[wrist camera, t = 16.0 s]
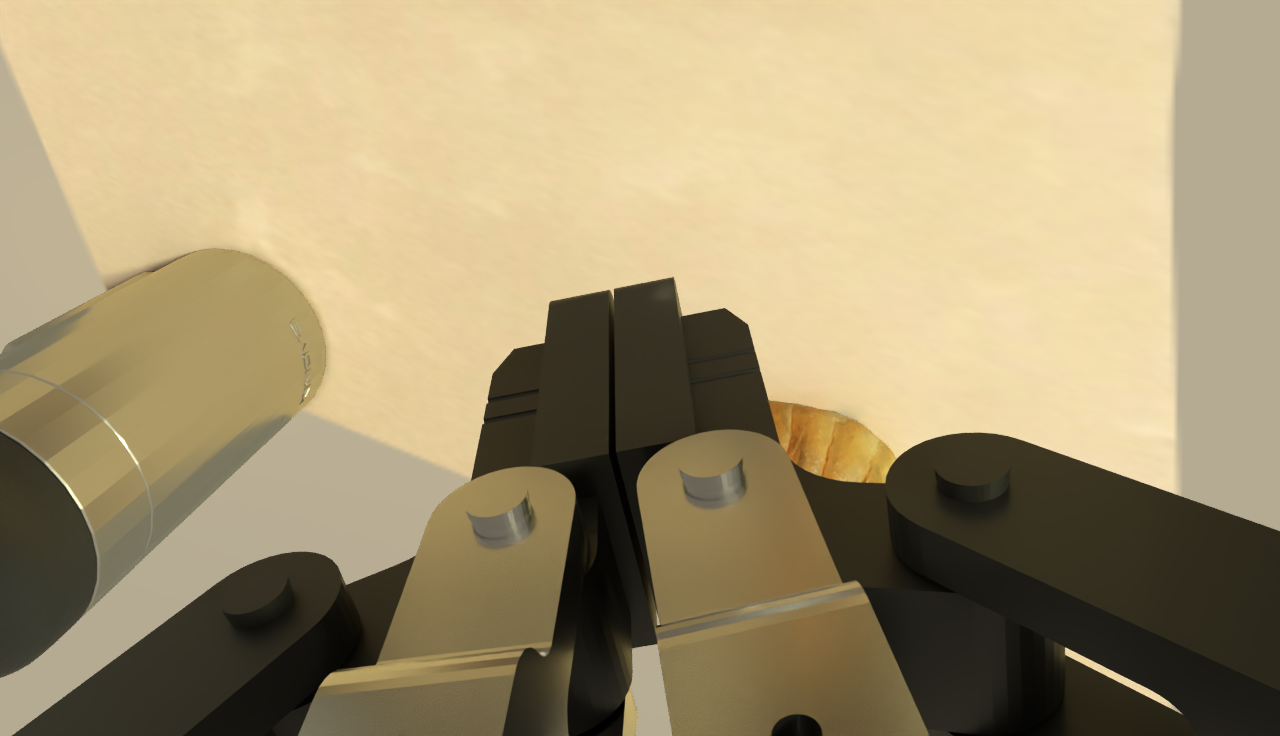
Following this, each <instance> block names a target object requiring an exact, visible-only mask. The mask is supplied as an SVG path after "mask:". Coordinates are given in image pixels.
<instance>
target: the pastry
mask: <svg viewBox="0 0 1280 736" xmlns="http://www.w3.org/2000/svg"><path fill="white" fill-rule="evenodd" d="M768 401H769V400H768ZM769 405H770V408H771V412H772V416H773V419H774V423H775V427H776V431H777V434H778V438H779V442H780V445H781V446H782V447H783V448H784V449H785V451H786V452H787V454H788V456H789V458H790V460H791V461H793V462H794V463H795V464H796V465H798V466H799V467H801V468H803V469H804V470H806V471H808V472H811V473H813V474H815V475H818V476H822V477H825V478H829V479H834V480H840V481H847V482H863V483H885V481H886V475H887V473H888V471H889V468H890V467H891V465H892V464H893V463H894V461H895V460H896V458H895V455H894V453H893V452H892V451H891V449H890V448H889V447H888V446H887V445H886V444H885V443H884V442H883V441H882V440H880V439H879V438H878V437H877V436H875V435H874V434H873V433H872V432H871V431H870V430H868V429H867V428H866V427H865V426H863V425H862V424H860V423H859V422H857V421H855V420H853V419H850V418H848V417H845V416H843V415H840V414H838V413H837V412H833V411H827V410H821V409H817V408H813V407H808V406H803V405H799V404H793V403H783V402H776V401H769Z"/></svg>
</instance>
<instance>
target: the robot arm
mask: <svg viewBox="0 0 1280 736" xmlns="http://www.w3.org/2000/svg"><path fill="white" fill-rule="evenodd" d="M325 366H326V347H325V342H324V338H323V333H322V329H321V326H320V324H319V322H318V319H317V317H316V315H315V312H314V310H313V309H312V307H311V306H310V304H309V303H308V301H307V300H306V298H305V297H304V295H303V294H302V292H301V291H300V290H299V289H298V288H297V287H296V286H295V285H294V284H293V283H292V282H291V281H290V280H289V279H288V278H287V277H286V276H285V275H283V274H282V273H281V272H279V271H278V270H277V269H275V268H274V267H273V266H271V265H270V264H268V263H266V262H264V261H262V260H260V259H258V258H256V257H254V256H252V255H248V254H245V253H241V252H238V251H234V250H225V249H208V250H202V251H196V252H193V253H191V254H189V255H186V256H184V257H182V258H179V259H178V260H176V261H174V262H172V263H170V264H168V265H166V266H164V267H163V268H161V269H159V270H157V271H155V272H142V273H141V274H139V275H137V276H135V277H133V278H131V279H129V280H127V281H125V282H124V283H122V284H120V285H118V286H116V287H114V288H112V289H110V290H108V291H106V292H105V293H103V294H101V295H99V296H97V297H95V298H93V299H91V300H89V301H88V302H86V303H84V304H82V305H80V306H78V307H76V308H74V309H73V310H70V311H69V312H67V313H65V314H63V315H61V316H59V317H57V318H55V319H53V320H52V321H50V322H48V323H46V324H44V325H42V326H40V327H39V328H36V329H34V330H33V331H31V332H29V333H27V334H25V335H23V336H21V337H19V338H17V339H15V340H14V341H12V342H10V343H8V344H7V345H6V346H5V348H4V350H3V352H2V354H0V678H1V677H4V676H7V675H9V674H11V673H14V672H16V671H18V670H20V669H22V668H23V667H25V666H27V665H28V664H30V663H31V662H33V661H34V660H35V659H36V658H38V657H39V656H40V655H42V654H43V653H44V652H45V651H46V650H47V649H48V648H50V647H51V646H52V645H53V644H54V643H55V642H56V641H57V640H58V639H59V638H60V637H62V635H64V634H65V633H66V632H67V631H68V630H69V629H70V628H71V627H72V626H73V625H74V624H75V623H76V622H77V621H78V620H79V619H80V618H81V617H82V616H84V615H85V614H86V613H87V612H88V611H89V610H90V609H91V608H92V607H93V606H94V605H95V604H96V603H97V602H98V601H100V600H101V599H102V598H103V597H104V596H105V595H106V594H107V593H108V592H109V591H110V590H111V589H112V588H113V587H114V586H115V585H117V584H118V583H119V582H120V581H121V580H122V579H123V578H124V577H125V576H126V575H127V574H128V573H129V572H130V571H131V570H132V569H133V568H134V567H135V566H136V565H137V564H138V563H139V562H140V561H141V560H142V559H144V558H145V557H146V556H147V555H148V554H149V553H150V552H151V551H152V550H153V549H154V548H155V547H156V546H157V545H158V544H160V543H161V542H162V541H163V540H164V539H165V538H166V537H167V536H168V535H169V534H170V533H171V532H172V531H173V530H174V529H175V528H176V527H177V526H179V525H180V524H181V523H182V522H183V521H184V520H185V519H186V518H187V517H188V516H189V515H190V514H191V513H192V512H193V511H195V510H196V508H198V507H199V506H200V505H201V504H202V503H203V502H204V501H205V500H206V499H207V498H208V497H209V496H210V495H211V494H213V493H214V492H215V491H216V490H217V489H218V488H219V487H220V486H221V485H222V484H223V483H224V482H225V481H226V480H227V479H228V478H229V477H231V476H232V474H234V473H235V472H236V471H237V470H238V469H239V468H240V467H241V466H242V465H243V464H244V463H245V462H246V461H247V460H249V459H250V457H252V456H253V455H254V454H255V453H256V452H257V451H258V450H259V449H260V448H261V447H262V446H263V445H265V444H266V443H267V442H268V441H269V440H270V439H271V438H272V437H273V436H274V435H275V434H276V433H277V432H278V431H279V430H281V429H282V428H283V427H284V426H285V425H286V424H287V423H288V422H289V421H290V420H291V419H292V418H293V417H294V416H295V415H296V414H297V413H299V412H300V411H301V410H302V409H303V408H304V407H305V406H306V405H307V403H308V402H309V401H310V400H311V399H312V398H313V397H314V396H315V394H316V392H317V390H318V388H319V386H320V384H321V382H322V379H323V375H324V370H325ZM488 402H489V403H487V405H486V410H485V415H484V424H482V429H481V434H480V439H479V444H478V449H477V454H476V459H475V464H474V469H473V474H472V478H471V481H470V482H468V483H466V484H464V485H463V486H461V487H459V488H458V489H456V490H455V491H454V492H452V493H451V494H450V495H448V496H447V497H446V498H445V499H444V500H443V501H442V502H441V503H440V504H439V505H438V506H437V507H436V509H435V510H434V512H433V513H432V515H431V517H430V519H429V521H428V523H427V526H426V529H425V532H424V535H423V537H422V540H421V543H420V545H419V548H418V551H417V554H416V556H414V557H413V558H411V559H409V560H407V561H404V562H402V563H400V564H398V565H395V566H393V567H390V568H388V569H385V570H383V571H380V572H378V573H376V574H373V575H370V576H368V577H365V578H363V579H360V580H358V581H355V582H353V583H350V584H348V585H346V584H345V582H344V580H343V577H342V575H341V573H340V571H339V568H338V566H337V565H336V564H335V563H334V562H333V561H332V560H331V559H330V558H328V557H326V556H324V555H321V554H318V553H312V552H291V553H284V554H279V555H275V556H271V557H268V558H265V559H262V560H259V561H256V562H254V563H252V564H249V565H247V566H245V567H243V568H241V569H239V570H237V571H236V572H234V573H232V574H230V575H229V576H227V577H226V578H225V579H223V580H221V581H220V582H218V583H217V584H216V585H214V586H213V587H211V588H210V589H209V590H207V591H206V592H205V593H204V594H202V595H201V596H199V597H198V598H197V599H195V600H194V601H193V602H191V603H190V604H189V605H187V606H186V607H185V608H183V609H182V610H181V611H179V612H178V613H176V614H175V615H174V616H172V617H171V618H170V619H168V620H167V621H166V622H164V623H163V624H162V625H160V626H159V627H158V628H156V629H155V630H154V631H152V632H151V633H150V634H148V635H147V636H146V637H144V638H143V639H142V640H140V641H139V642H137V643H136V644H135V645H134V646H132V647H131V648H129V649H128V650H127V651H125V652H124V653H123V654H121V655H120V656H119V657H117V658H116V659H115V660H113V661H112V662H111V663H109V664H108V665H107V666H105V667H104V668H102V669H101V670H100V671H99V672H97V673H96V674H94V675H93V676H92V677H90V678H89V679H88V680H86V681H85V682H84V683H82V684H81V685H80V686H78V687H77V688H76V689H74V690H73V691H72V692H70V693H69V694H67V695H66V696H65V697H63V698H62V699H61V700H59V701H58V702H57V703H55V704H54V705H53V706H51V707H50V708H49V709H47V710H46V711H45V712H43V713H42V714H41V715H39V716H38V717H37V718H35V719H34V720H32V721H31V722H30V723H28V724H27V725H26V726H24V727H23V728H22V729H20V730H19V731H18V732H16V733H15V734H14V735H12V736H636V727H637V707H636V703H635V700H634V696H633V693H632V689H631V686H630V685H631V681H632V648H635V647H642V646H648V645H654V644H658V650H659V656H660V662H661V669H662V675H663V681H664V686H665V693H666V699H667V705H668V711H669V716H670V723H671V729H672V736H1280V531H1278V530H1275V529H1272V528H1269V527H1266V526H1263V525H1261V524H1258V523H1255V522H1252V521H1249V520H1246V519H1244V518H1241V517H1238V516H1235V515H1232V514H1229V513H1226V512H1224V511H1221V510H1218V509H1215V508H1212V507H1209V506H1206V505H1204V504H1201V503H1198V502H1195V501H1193V500H1190V499H1187V498H1184V497H1181V496H1178V495H1175V494H1173V493H1170V492H1167V491H1164V490H1161V489H1158V488H1156V487H1153V486H1150V485H1147V484H1144V483H1141V482H1139V481H1136V480H1133V479H1130V478H1127V477H1124V476H1122V475H1119V474H1116V473H1113V472H1110V471H1107V470H1105V469H1102V468H1099V467H1096V466H1093V465H1090V464H1088V463H1085V462H1082V461H1079V460H1076V459H1073V458H1071V457H1068V456H1065V455H1062V454H1059V453H1056V452H1054V451H1051V450H1048V449H1045V448H1042V447H1039V446H1037V445H1034V444H1031V443H1028V442H1025V441H1022V440H1019V439H1016V438H1012V437H1009V436H1003V435H998V434H990V433H960V434H951V435H946V436H941V437H937V438H934V439H931V440H927V441H924V442H922V443H920V444H918V445H916V446H914V447H912V448H910V449H909V450H907V451H906V452H904V453H903V454H902V455H901V456H899V457H898V458H897V459H896V460H895V461H894V463H893V464H892V465H891V467H890V468H889V471H888V473H887V475H886V481H885V483H863V482H847V481H840V480H834V479H829V478H825V477H822V476H818V475H815V474H813V473H811V472H808V471H806V470H804V469H803V468H801V467H799V466H798V465H796V464H795V463H794V462H793V461H791V460H790V458H789V456H788V454H787V452H786V451H785V449H784V448H783V447H782V446H781V445H780V442H779V438H778V434H777V431H776V427H775V423H774V419H773V416H772V412H771V408H770V405H769V401H768V397H767V394H766V390H765V386H764V382H763V379H762V375H761V372H760V368H759V364H758V360H757V356H756V353H755V350H754V345H753V342H752V338H751V334H750V330H749V327H748V324H746V323H745V322H744V321H742V320H741V319H739V318H738V317H737V316H735V315H734V314H732V313H731V312H730V311H728V310H727V309H725V308H723V309H718V310H713V311H707V312H702V313H697V314H692V315H687V316H682V313H681V308H680V303H679V298H678V293H677V289H676V284H675V280H674V277H672V278H667V279H662V280H657V281H652V282H646V283H641V284H636V285H631V286H626V287H621V288H616V289H614V299H613V296H612V293H611V291H610V290H607V291H602V292H596V293H591V294H586V295H581V296H576V297H571V298H566V299H561V300H556V301H551V302H550V304H549V311H548V319H547V328H546V336H545V343H543V344H538V345H533V346H527V347H522V348H517V349H514V350H513V351H512V352H511V353H510V355H509V356H508V357H507V358H506V359H505V360H504V361H503V363H502V364H501V365H500V366H499V367H498V368H497V370H496V371H495V372H494V373H493V375H492V380H491V385H490V390H489V395H488ZM656 610H657V614H658V618H659V623H660V625H657V616H656ZM1065 647H1066V648H1068V649H1070V650H1072V651H1074V652H1076V653H1078V654H1080V655H1082V656H1084V657H1086V658H1088V659H1090V660H1092V661H1094V662H1096V663H1098V664H1100V665H1102V666H1104V667H1106V668H1108V669H1110V670H1112V671H1114V672H1116V673H1118V674H1120V675H1122V676H1124V677H1126V678H1128V679H1130V680H1132V681H1134V682H1136V683H1138V684H1140V685H1142V686H1144V687H1146V688H1148V689H1150V690H1152V691H1153V692H1155V693H1157V694H1159V695H1160V696H1162V697H1163V698H1165V699H1166V700H1167V701H1169V702H1170V703H1171V704H1172V705H1174V706H1175V707H1176V708H1177V709H1178V710H1179V711H1180V712H1181V713H1182V714H1183V715H1182V714H1180V713H1178V712H1176V711H1174V710H1172V709H1171V708H1169V707H1167V706H1165V705H1163V704H1161V703H1159V702H1157V701H1155V700H1153V699H1151V698H1149V697H1147V696H1145V695H1143V694H1141V693H1139V692H1137V691H1135V690H1133V689H1131V688H1129V687H1127V686H1125V685H1123V684H1121V683H1119V682H1117V681H1115V680H1113V679H1111V678H1109V677H1107V676H1105V675H1103V674H1101V673H1099V672H1098V671H1096V670H1094V669H1092V668H1090V667H1088V666H1086V665H1084V664H1082V663H1080V662H1078V661H1076V660H1074V659H1072V658H1070V657H1068V656H1066V655H1065Z"/></svg>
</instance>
